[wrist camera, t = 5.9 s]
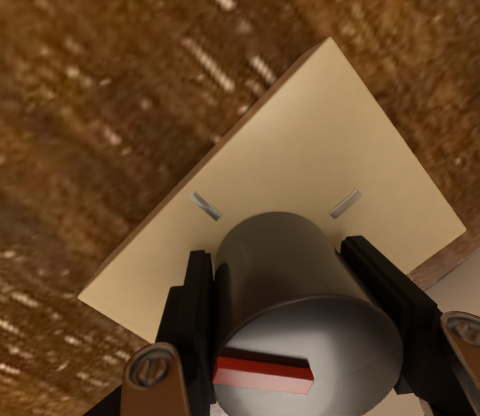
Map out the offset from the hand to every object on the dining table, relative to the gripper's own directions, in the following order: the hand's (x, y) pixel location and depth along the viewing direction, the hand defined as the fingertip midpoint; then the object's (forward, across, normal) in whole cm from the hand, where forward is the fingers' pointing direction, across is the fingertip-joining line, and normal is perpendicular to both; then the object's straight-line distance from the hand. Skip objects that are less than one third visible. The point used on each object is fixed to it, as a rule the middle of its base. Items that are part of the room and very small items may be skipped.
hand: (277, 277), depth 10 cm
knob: (+1, 0, 0) cm, 1 cm away
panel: (+4, 0, 0) cm, 4 cm away
